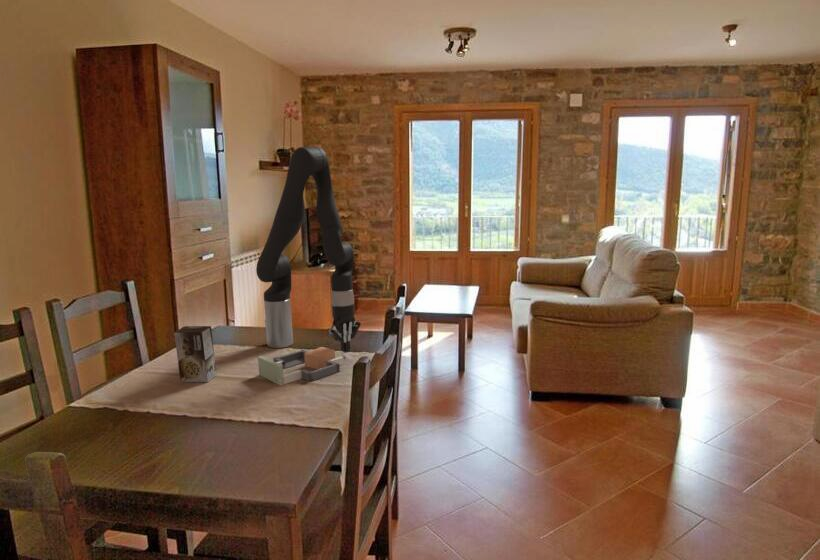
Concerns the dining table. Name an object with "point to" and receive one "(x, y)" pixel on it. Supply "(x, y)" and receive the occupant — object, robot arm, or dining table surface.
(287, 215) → the robot arm
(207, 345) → the coffee box
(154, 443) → the dining table surface
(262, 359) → the box
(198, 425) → the dining table surface
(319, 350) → the terracotta block
